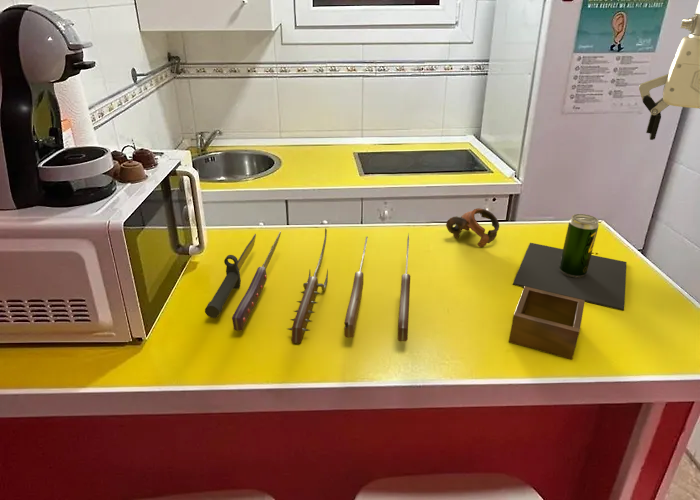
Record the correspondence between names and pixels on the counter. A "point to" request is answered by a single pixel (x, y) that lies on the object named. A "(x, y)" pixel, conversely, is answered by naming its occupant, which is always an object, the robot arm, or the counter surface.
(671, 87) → the robot arm
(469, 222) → the brown curved piece
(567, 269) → the beer can
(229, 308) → the counter surface
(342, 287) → the counter surface
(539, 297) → the box
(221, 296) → the knife set
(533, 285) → the mat
